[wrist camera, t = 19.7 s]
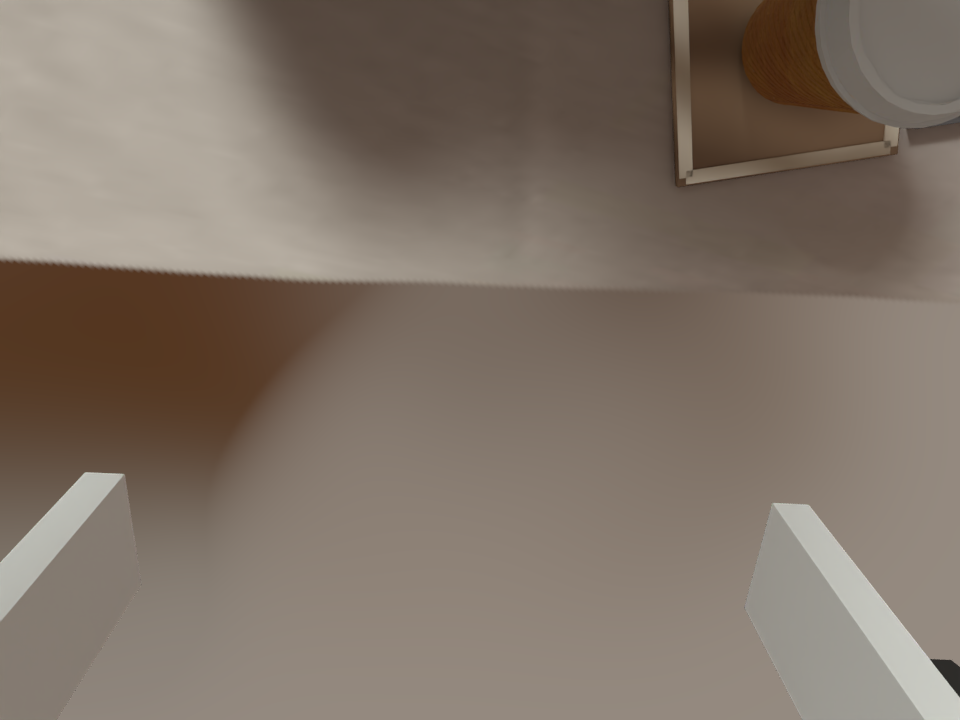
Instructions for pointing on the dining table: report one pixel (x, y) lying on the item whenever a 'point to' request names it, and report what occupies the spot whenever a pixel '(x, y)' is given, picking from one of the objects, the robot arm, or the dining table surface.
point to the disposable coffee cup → (858, 57)
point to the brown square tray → (747, 107)
